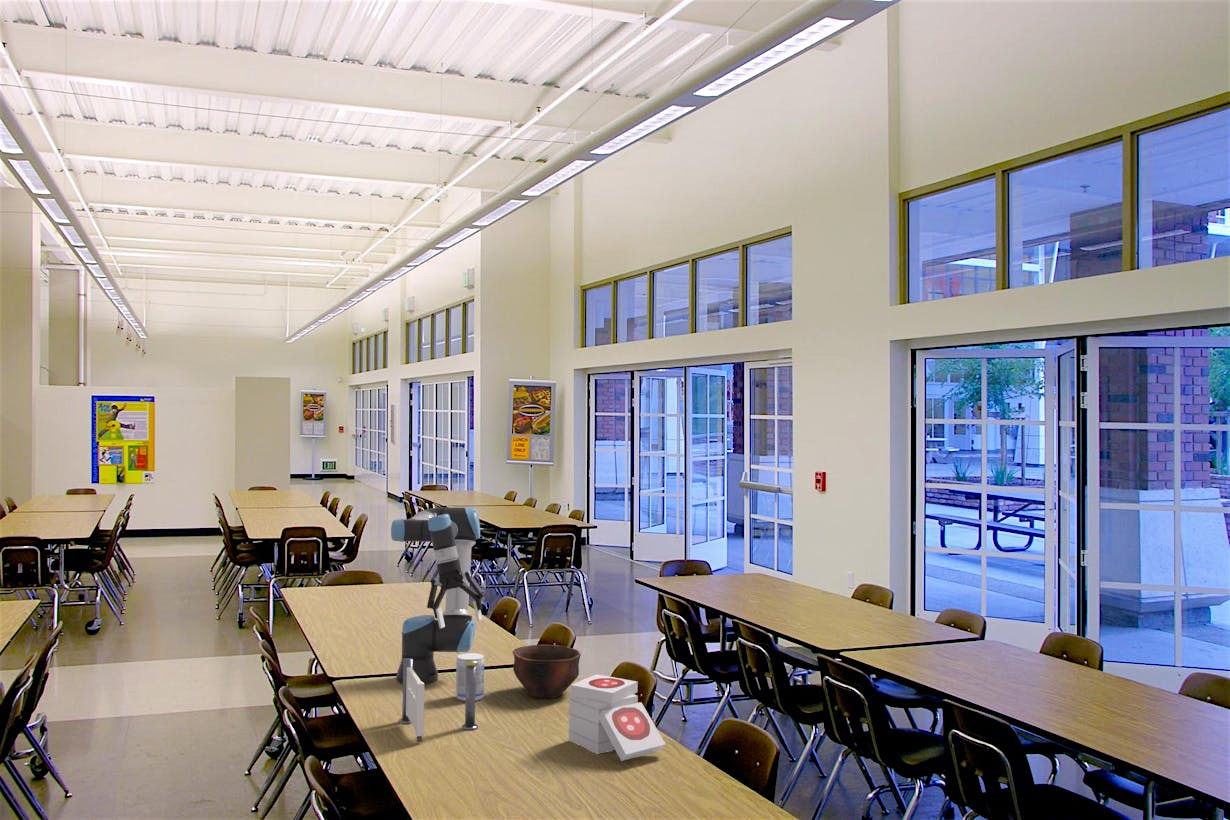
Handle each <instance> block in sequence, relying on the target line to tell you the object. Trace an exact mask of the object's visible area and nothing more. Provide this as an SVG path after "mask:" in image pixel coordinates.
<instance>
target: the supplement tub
mask: <svg viewBox="0 0 1230 820" xmlns="http://www.w3.org/2000/svg"><path fill="white" fill-rule="evenodd" d="M466 660H477V661H478V664H477V665H476V685H475V702H477V701H480V700H482V699H483V698H484V695H485V688H484V687H485V678H484V677H485V657H484V654H481V653H477V652H475V653H474V652H473V653H472V652H469V653H468V652H465V653H462V654H458V655H457V656H456V665H455V666H456V669H455V670H456V675H455V676H456V678H455V682H456V683H455V688H456V690H455V691H456V692H455V696H456V699H457V700H459V701H462V702H466V665H465V661H466Z"/></svg>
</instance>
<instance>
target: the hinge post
mask: <svg viewBox="0 0 1230 820" xmlns="http://www.w3.org/2000/svg"><path fill="white" fill-rule="evenodd" d="M409 667H412V668H413V659H412V658H405V659H403V684H402V704H401V705H402V711H401V713H402V714H401V715H402V716H401V718H399V720H398V723H399V722H400V723H402V724H401V725H410V724H409V723H411V722H410V720H409V718H408V717H407V716H406V686H407V668H409ZM400 723H399V724H400Z"/></svg>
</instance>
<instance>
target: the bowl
mask: <svg viewBox="0 0 1230 820" xmlns="http://www.w3.org/2000/svg"><path fill="white" fill-rule="evenodd" d="M512 655H513V656H514V658H513V659H514V661H513V667H512V669H513V673H514V675H515V677H516V679H518V681H519V682H520V684H521V685H522V687H523V688H524V689H525V691H526V693H527V694H528V696H531V697H534V698H540V699H541V698H542V699H545V698H548V699H552V698H557V697H559V696H562V695H563V694H564V692H565V691H567V689H568V688H569V687H571V685H572V684H574V683H575V682H574V681H576V680H577V678H578V676H579V675H580V668H579V667H580V665H579V664H580V658H581V656H582V655H581V652H580V651H579V650H578V649H576V648H572V647H568V646H562V645H554V644H532V645H525V646H520V647H517V648H514V649H513V651H512Z"/></svg>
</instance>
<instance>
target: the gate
mask: <svg viewBox="0 0 1230 820" xmlns="http://www.w3.org/2000/svg"><path fill="white" fill-rule="evenodd" d="M424 713H425V684H424V682H421V680H420V679H419V677H418V676H417V675H416V673H415V672H414V670H413V668H412V667H409V668H407V686H406V716H407V717H408V718H409V720H410V722H411V723H412V724H411V725H412V726H413V728H414V730H415V736H416V742H417V743H420V742H423V741H422V740H423V736H424V726H425V724H424V720H425V719H424V717H425V714H424Z"/></svg>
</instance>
